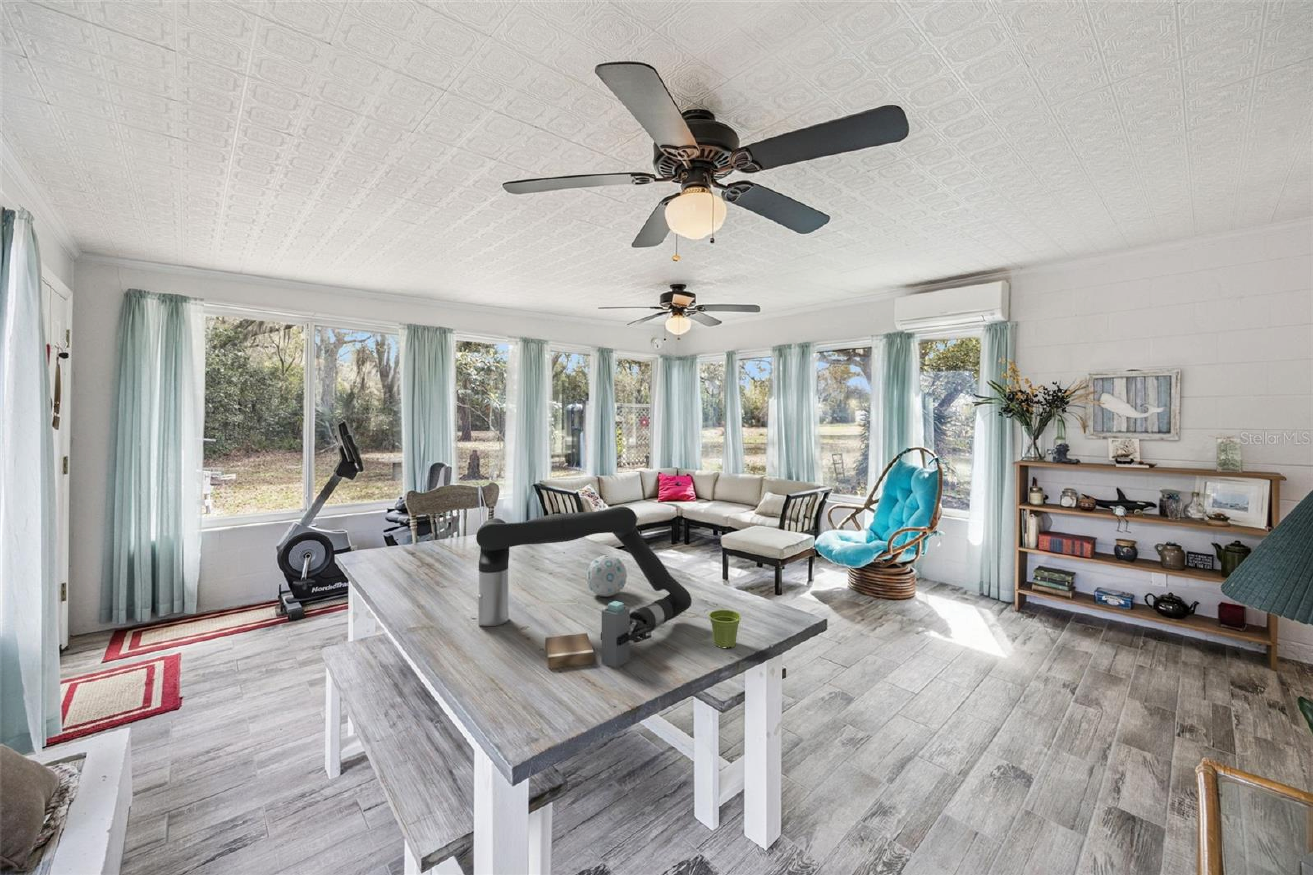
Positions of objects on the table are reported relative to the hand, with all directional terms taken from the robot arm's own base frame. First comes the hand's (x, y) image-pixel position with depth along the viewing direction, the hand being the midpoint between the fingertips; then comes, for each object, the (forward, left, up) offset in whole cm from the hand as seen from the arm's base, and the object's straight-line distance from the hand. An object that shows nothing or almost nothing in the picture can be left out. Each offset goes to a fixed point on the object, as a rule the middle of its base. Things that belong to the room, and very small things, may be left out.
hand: (609, 639), depth 137 cm
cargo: (+2, +2, +6) cm, 7 cm away
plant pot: (+35, +4, -7) cm, 36 cm away
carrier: (+2, +2, -7) cm, 7 cm away
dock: (-10, +9, -7) cm, 15 cm away
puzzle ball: (+9, +55, -7) cm, 56 cm away
